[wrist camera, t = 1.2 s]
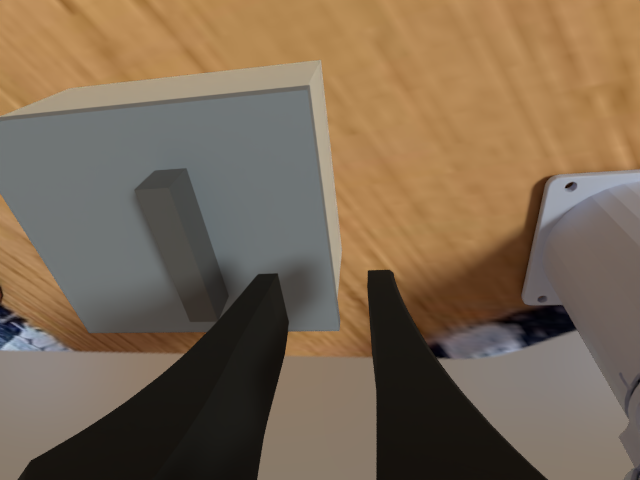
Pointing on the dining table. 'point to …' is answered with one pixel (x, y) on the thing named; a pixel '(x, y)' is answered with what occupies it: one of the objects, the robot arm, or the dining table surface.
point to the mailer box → (212, 86)
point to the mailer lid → (175, 207)
